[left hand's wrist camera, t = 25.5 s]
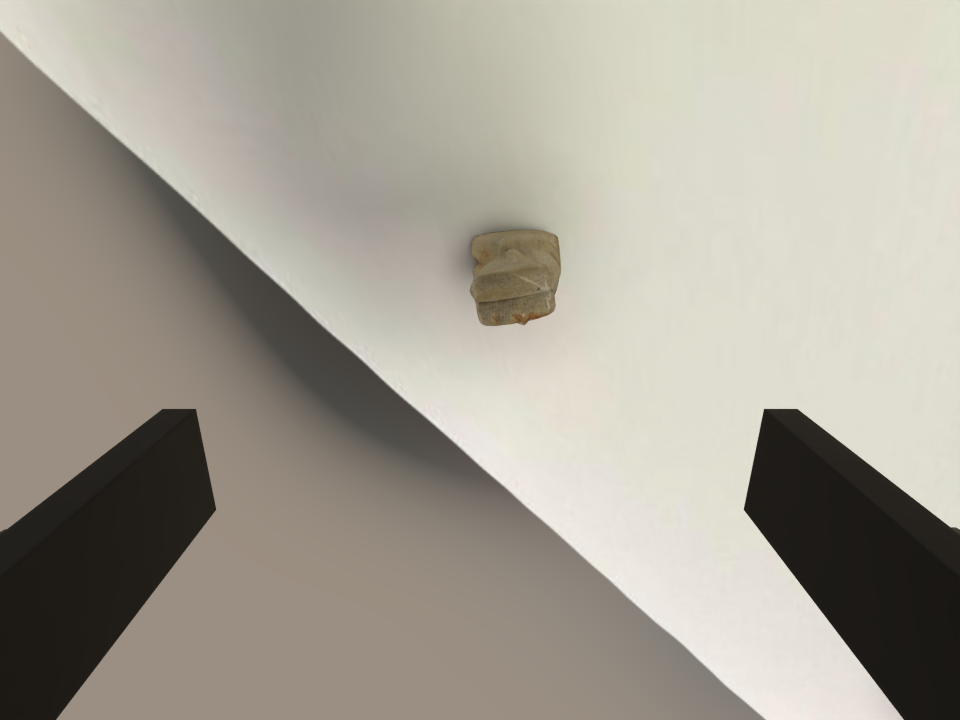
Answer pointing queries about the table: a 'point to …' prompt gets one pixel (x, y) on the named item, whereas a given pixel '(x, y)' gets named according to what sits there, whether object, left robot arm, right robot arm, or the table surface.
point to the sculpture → (515, 276)
